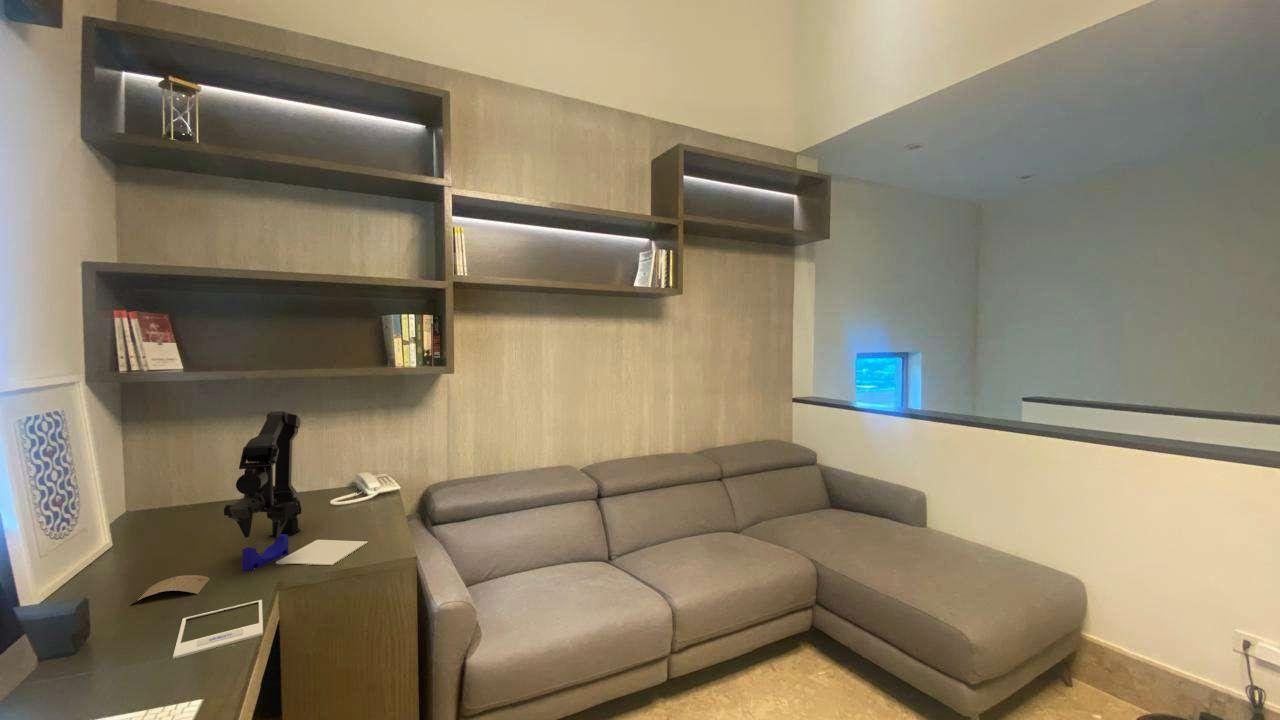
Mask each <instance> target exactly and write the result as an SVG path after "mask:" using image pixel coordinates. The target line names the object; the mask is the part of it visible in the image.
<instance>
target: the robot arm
mask: <svg viewBox="0 0 1280 720" xmlns="http://www.w3.org/2000/svg"><path fill="white" fill-rule="evenodd" d="M300 428H301V418H300V417H299V416H298V415H297V414H293V413H288V412H287V411H284V410H283V411H270V412H267V414H266V420H265V421H264V424H263V425H262V428H261V430H260V431H259V433H258V435H257V436H255V437H253V438H251V439H249V440H248V442H247V443H246V444H245V446H243V448H242V452H241V458H240V462H239V466H238V469H239V470H244V473H243V474H241V476H239V477H238V479H237V480H236V482H235V488H236V490H237V491H238V492H239V493H240V494H243V495H244V496H243V498H241V499H239V500H237V501H234V502H231V503H228V504H226V505H225V506H224V508H223V516H227V518H228V519H232V520H234V521H235V522H236V523H237V524H238V527H239V528H240V530H241V533H242V534H243V536H244V538H245V539H246V538H247V539H248V538H249V537H250V534H251V530H252V522H253V515H254V514H258V513H266V516H267V519H270V520H271V521H272V525H271V526H272V528H271V529H272V533H269V534H268V537H274V540H275V539H277V538H279V536H280V534H286V535H288V537H289V536H291V535H293V534H296V533H298V532H299V531H301V528H299V519H298V517H297V516H298V515H301V514H302V513H303V512H302V511H303V510H302V509H303V508H302V504H301V501H300V499H299V497H298V492H297V490H296V489H295V488H294V486H293V485H292V471H293V467H292V466H293V465H292V464H293V462H292V461H293V441H294V439H295V438H296V436H297V435H298V434H299V429H300ZM274 465H275V467H274ZM274 470H275V471H274Z"/></svg>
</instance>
